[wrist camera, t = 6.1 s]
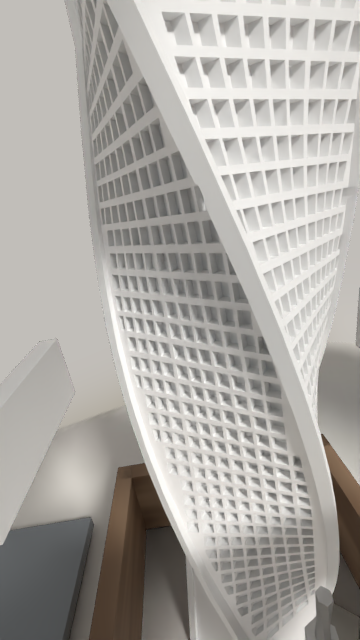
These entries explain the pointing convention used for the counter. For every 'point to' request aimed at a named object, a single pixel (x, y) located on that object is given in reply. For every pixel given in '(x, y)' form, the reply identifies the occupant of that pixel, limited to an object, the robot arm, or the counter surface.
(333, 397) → the counter surface
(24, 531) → the slate mat
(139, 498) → the walnut bay
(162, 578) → the counter surface
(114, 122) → the twisted skyscraper model
